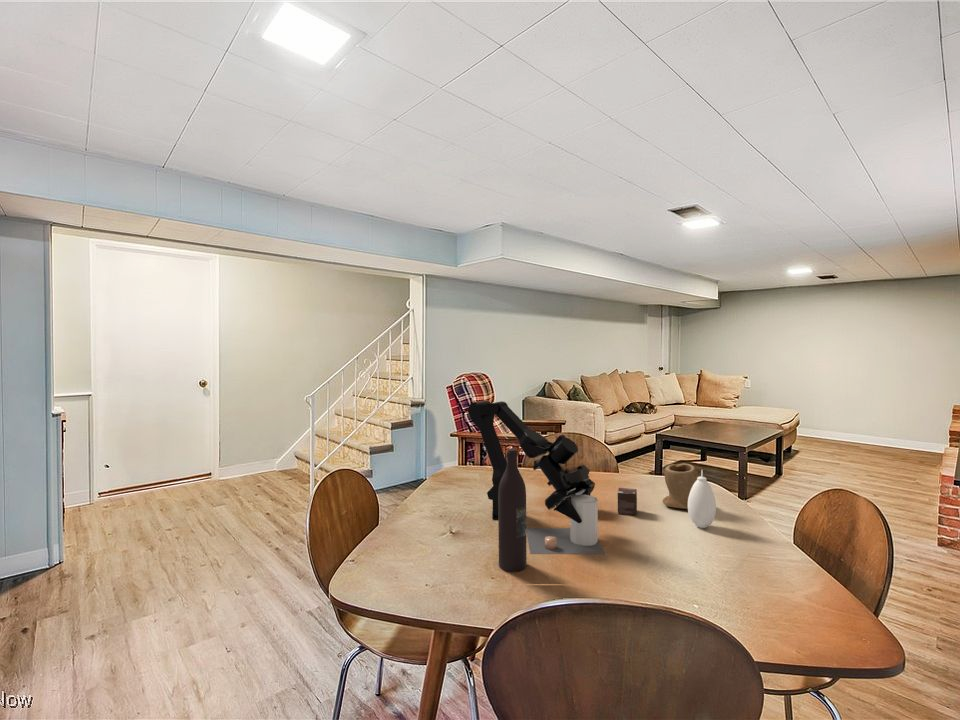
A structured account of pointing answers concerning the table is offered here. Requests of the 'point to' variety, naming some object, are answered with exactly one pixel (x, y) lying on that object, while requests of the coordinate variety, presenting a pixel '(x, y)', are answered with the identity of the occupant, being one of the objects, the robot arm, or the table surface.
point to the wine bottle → (512, 517)
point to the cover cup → (585, 520)
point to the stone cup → (679, 484)
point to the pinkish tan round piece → (551, 543)
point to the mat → (558, 542)
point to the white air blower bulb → (701, 503)
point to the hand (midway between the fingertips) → (588, 518)
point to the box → (627, 501)
